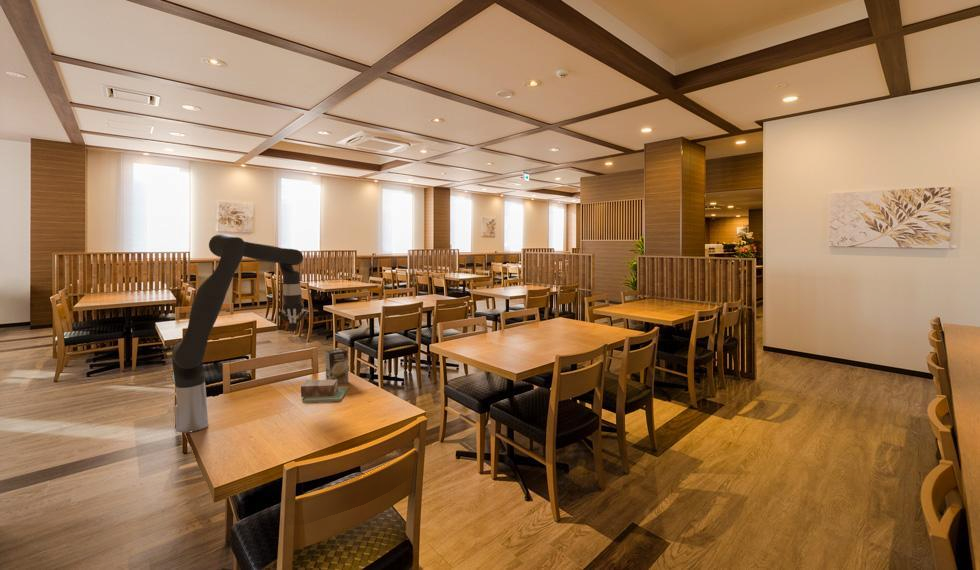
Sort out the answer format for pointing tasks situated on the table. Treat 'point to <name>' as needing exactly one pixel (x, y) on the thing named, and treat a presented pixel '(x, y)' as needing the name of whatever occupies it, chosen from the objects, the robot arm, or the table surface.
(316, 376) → the table surface
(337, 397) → the mat
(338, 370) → the coffee box
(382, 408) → the table surface
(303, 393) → the walnut block
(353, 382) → the table surface
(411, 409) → the table surface
